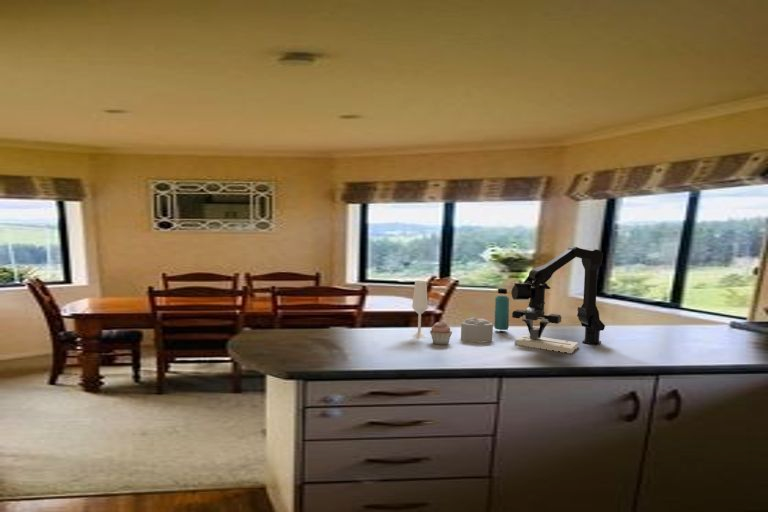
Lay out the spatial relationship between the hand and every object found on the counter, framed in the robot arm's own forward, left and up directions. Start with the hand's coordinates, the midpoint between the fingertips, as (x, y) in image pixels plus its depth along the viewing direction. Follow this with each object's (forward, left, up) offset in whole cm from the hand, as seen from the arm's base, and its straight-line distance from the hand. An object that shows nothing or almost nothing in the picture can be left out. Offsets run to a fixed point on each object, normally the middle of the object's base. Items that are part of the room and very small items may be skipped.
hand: (535, 336), depth 195 cm
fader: (0, 0, -1) cm, 1 cm away
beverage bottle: (-13, -19, -3) cm, 24 cm away
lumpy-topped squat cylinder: (+8, -23, -3) cm, 25 cm away
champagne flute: (+19, -44, -3) cm, 48 cm away
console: (0, +5, -3) cm, 5 cm away
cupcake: (+24, -31, -3) cm, 40 cm away
